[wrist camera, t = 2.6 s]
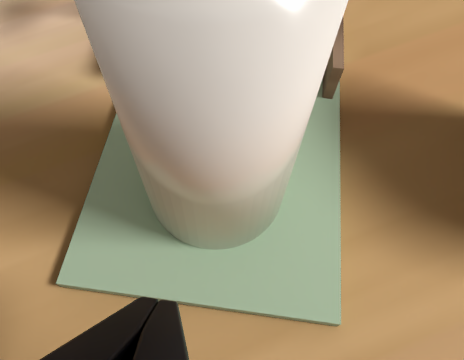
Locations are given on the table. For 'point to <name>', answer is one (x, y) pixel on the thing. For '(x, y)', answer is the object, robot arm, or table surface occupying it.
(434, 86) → the table surface
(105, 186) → the green mat
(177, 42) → the white rounded block
